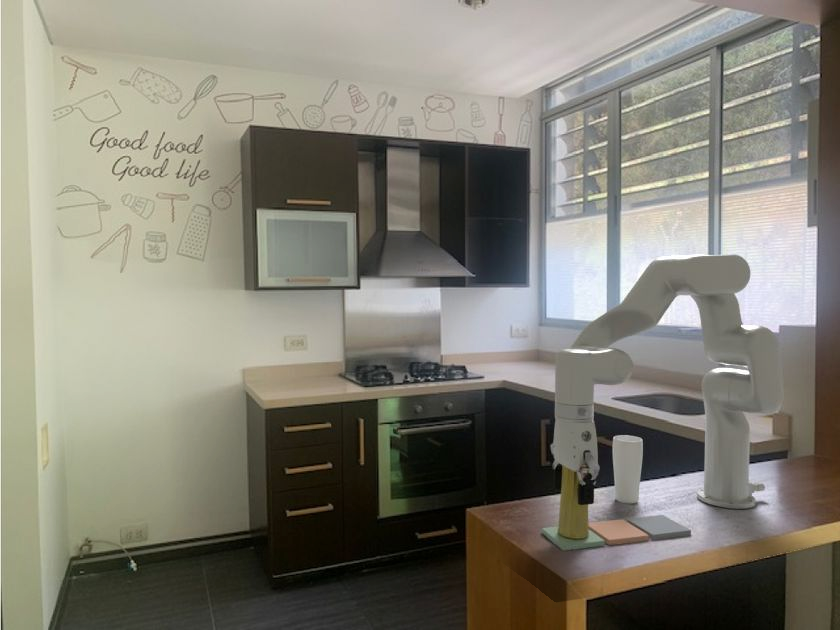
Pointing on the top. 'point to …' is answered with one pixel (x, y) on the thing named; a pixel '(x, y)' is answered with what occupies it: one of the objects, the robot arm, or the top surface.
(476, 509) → the top surface
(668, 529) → the grey coaster
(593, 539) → the green coaster
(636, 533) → the terracotta coaster
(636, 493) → the drinking glass
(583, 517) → the vase
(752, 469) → the top surface
